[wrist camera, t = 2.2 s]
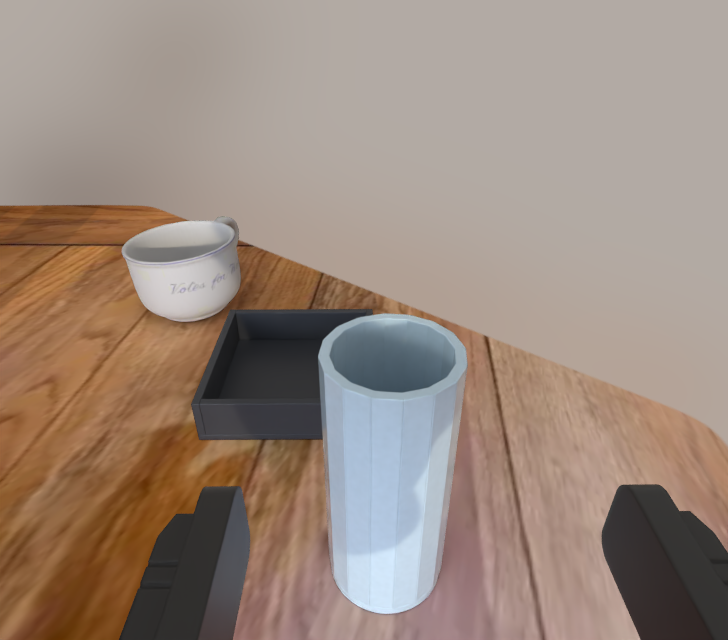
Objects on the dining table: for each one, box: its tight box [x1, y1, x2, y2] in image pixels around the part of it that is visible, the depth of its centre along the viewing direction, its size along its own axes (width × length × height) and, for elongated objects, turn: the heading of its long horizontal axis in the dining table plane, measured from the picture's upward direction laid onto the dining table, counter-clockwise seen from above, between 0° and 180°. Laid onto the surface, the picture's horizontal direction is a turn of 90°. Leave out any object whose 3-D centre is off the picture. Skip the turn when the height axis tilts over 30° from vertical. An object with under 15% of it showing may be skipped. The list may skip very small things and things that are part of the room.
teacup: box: [122, 216, 241, 322], centre depth 55 cm, size 14×11×8 cm
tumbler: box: [318, 314, 468, 614], centre depth 27 cm, size 6×6×15 cm
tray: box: [191, 309, 373, 440], centre depth 44 cm, size 13×13×4 cm
